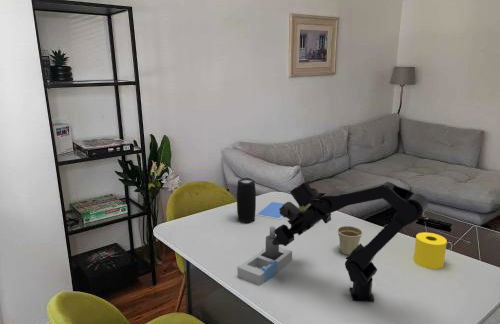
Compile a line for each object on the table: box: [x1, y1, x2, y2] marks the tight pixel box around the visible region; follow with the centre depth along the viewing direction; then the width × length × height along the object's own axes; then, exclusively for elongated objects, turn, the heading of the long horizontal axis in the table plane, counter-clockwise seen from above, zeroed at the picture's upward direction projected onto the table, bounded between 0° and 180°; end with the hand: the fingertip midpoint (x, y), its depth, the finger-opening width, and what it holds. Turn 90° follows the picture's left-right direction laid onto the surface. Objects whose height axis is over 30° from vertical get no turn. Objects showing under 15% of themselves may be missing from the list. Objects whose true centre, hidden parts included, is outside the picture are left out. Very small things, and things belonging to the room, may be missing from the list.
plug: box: [265, 226, 280, 260], centre depth 136 cm, size 5×5×14 cm
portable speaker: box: [236, 177, 257, 224], centre depth 174 cm, size 9×9×20 cm
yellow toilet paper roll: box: [413, 231, 448, 270], centre depth 137 cm, size 10×10×9 cm
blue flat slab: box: [255, 201, 284, 221], centre depth 187 cm, size 19×13×1 cm, turn 153°
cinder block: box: [236, 246, 293, 286], centre depth 134 cm, size 10×21×4 cm, turn 144°
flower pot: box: [336, 225, 364, 256], centre depth 145 cm, size 9×9×9 cm
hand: (280, 238), depth 134 cm, fingers open, 9 cm apart
